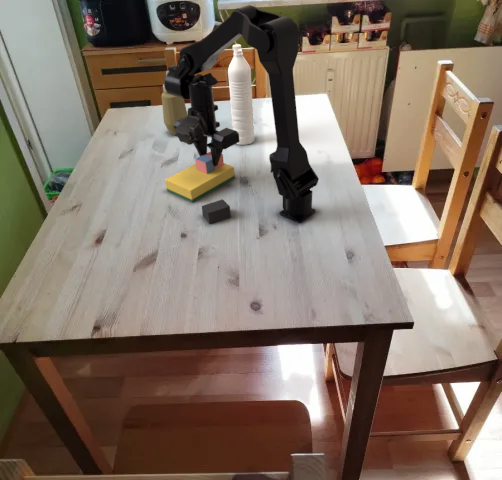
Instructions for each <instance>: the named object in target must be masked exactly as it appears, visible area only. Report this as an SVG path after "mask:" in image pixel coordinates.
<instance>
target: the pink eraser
mask: <svg viewBox="0 0 502 480" xmlns="http://www.w3.org/2000/svg"><path fill="white" fill-rule="evenodd" d="M194 161H195V164H196V168H197V170H199V171H201V172H204V173H206V174H208V173H210V172H212V171H214V170H215V169H217V168H219V167H220V166H222V165H224V163H225V162H224V154H223V153H222V154H221V157H220V160H219V162H218V165H217V166H214V165H213V161H212V156H211V150H210V151H209V152H208V151H207V153H206V154H204V155H202V156H197V157H196V158H194Z"/></svg>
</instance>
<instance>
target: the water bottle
mask: <svg viewBox="0 0 502 480" xmlns="http://www.w3.org/2000/svg"><path fill="white" fill-rule="evenodd" d="M232 51H233V57H232V59H231V61H230V63H229V66H228V69H227V76H228V77H227V78H228V86H229V100H230V112H231V120H232V121H231V124H232V130H235V131H237V132H238V133H239V142H238V143H236V144H235V145H238V146H247V145H251V144H252V143H253V142H255V125H254V106H253V102H254V101H253V89H252V87H253V86H252V85H253V84H252V69H251V66H250V64H249V63H248V60H247V59H246V58H245V57H244V53H243V49H242V45H241V44H239V43H234V44H232Z"/></svg>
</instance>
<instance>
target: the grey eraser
mask: <svg viewBox="0 0 502 480" xmlns="http://www.w3.org/2000/svg"><path fill="white" fill-rule="evenodd" d="M201 212H202V217H203V218H204V219H205V220H206V222H207V223H208V224H209V225H210V224H214V223H216V222H220V221H223V220H226V219H229V218H231V217H232V214H231V206H230V204H228V203H227V201H225V200H224V199H219V200H215V201H213V202H209V203H207V204H203V205H201Z"/></svg>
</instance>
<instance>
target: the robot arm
mask: <svg viewBox="0 0 502 480" xmlns="http://www.w3.org/2000/svg"><path fill="white" fill-rule="evenodd" d="M299 37H300V32H299V27H298V25H297V23H296V22H295V21H294V20H293V18H291V17H289V16H286V15H285V16H281V14H279V13H278V14H277V13H274V12H271V11H266V10H262V9H260V8H258V7H256V6H254V5H251V4H247V5H245V6H241V7H238V8H236V9H234V10H233V11H232V13H231V14H230V15H229V16H227V18H225V20H223V21H222V22H221V23H220V24H219V25H218V26H216V27H215V28H214V29H213V30H211V32H209V33H208V34H207V35H205V37H204V38H203V39H201V40H198V41H196V42H193V43H190V44H188V45H186V46H184V47H182V48H181V49H180V50H179V52H178V55H179V58H178V61H177V64H172V65H169V66H168V67H167V71H169V72H168V74H167V75H166V74H165V78H164V83H163V85H164V86H165V89H166V91H167V93H168V94H170V95H173V96H177V97H180V98H183V99H184V100H189V102H190V107H189V108H187V114H188V116H186V117H184V118H181V119H179V120H177V121H176V122H175V125H174V128H175V133H176V134H177V135H176V137H177V138H178V141H179V142H180V143H185V144H186V145H188V146H190V145H193V146H194V148H195V149H196V151H197V154H198V155H199V156H198V157H200V156H202V155H204V154H206V153H208V148H209V150H210V151H211V156H212V161H213V165H214V166H217V165H218V162H219V160H220V157H221V154H223V152H224V150H226V149H229V148H230V147H232V146H234V145H237V144H236V143H238V142H239V133H238V132H237V131H235V130H233V128H230V127H225V128H223V129H220V130H217V128H220V126H221V124H220V123H221V122H220V121H217V117H216V111H218V110H219V106H218V105H217V104H215V100H214V90H213V86H216V85H218V84H219V80H218V79H217V78H216V77H215V76H214V75H213V74H212V73H211V72H209V73H206V74H202V72H206V71H208V70H210V69H212V68H213V67H214V66H215V64H216V63H217V62H218V61H219V56H220V54H221V53H222V52H224V51H225V50H226V49H227V48H229V47H230V46H231V45H233V44H235V43H236V42H237V41H238V40H239V39H240V38H243V40H244V41H245V43H246V44H247V45H249V46H250V47H252V48H253V49H255V50H256V52H257V56H258V61H259V62H260V65H262V67H263V68H264V70H265V71H266V73H267V76H268V80H269V88H270V89H269V90H270V97H271V105H272V115H273V121H274V129H275V138H276V149H275V151H273V152H271V153H270V154H269V155H268V156H269V157H268V159H269V163H270V173H272V176H273V180H274V182H275V185H276V189H277V192H278V195H279V196H282V210H281V211H279V215H280V216H281V217H284V218H287V219H288V220H291V221H294V222H297V223H299V224H301V223H302V222H304V221H305V220H306V219H308V218H309V217H311V216H312V215H313V214H315V213H316V209H315V208H313V190H312V189H313V188H315V187H316V186H318V183H319V177H318V175H317V173H316V171H314V169H313V168H312V166H311V164H310V160H309V157H308V152H307V150H306V149H305V147H304V146H303V144H302V143H301V141H300V131H299V122H298V112H297V101H296V90H295V89H296V88H295V80H294V79H295V78H294V67H295V64H296V60H297V57H298V54H299V41H300V39H299ZM208 138H211V139H210V142H208Z"/></svg>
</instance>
